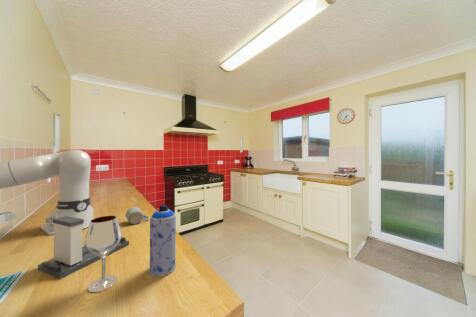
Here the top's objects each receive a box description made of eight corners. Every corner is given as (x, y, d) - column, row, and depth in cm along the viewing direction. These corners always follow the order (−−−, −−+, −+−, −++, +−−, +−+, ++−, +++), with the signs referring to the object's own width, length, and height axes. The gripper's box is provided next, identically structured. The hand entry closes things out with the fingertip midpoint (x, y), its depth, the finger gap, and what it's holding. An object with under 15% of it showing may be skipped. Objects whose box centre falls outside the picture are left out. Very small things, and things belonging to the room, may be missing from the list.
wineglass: (98, 274, 51) (99, 214, 51) (127, 273, 52) (127, 213, 52) (74, 296, 43) (75, 225, 43) (109, 294, 44) (109, 224, 44)
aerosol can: (150, 264, 56) (150, 203, 56) (175, 259, 59) (176, 201, 59) (147, 280, 49) (148, 210, 49) (176, 273, 52) (176, 207, 52)
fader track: (37, 269, 53) (37, 261, 53) (108, 239, 73) (108, 234, 73) (60, 279, 49) (60, 270, 49) (129, 244, 69) (129, 238, 69)
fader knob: (52, 259, 55) (52, 219, 55) (66, 254, 59) (66, 215, 59) (70, 266, 52) (70, 223, 52) (83, 260, 55) (83, 219, 55)
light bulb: (127, 226, 88) (128, 211, 88) (125, 222, 94) (125, 207, 94) (150, 221, 95) (150, 208, 95) (146, 218, 101) (146, 204, 101)
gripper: (-118, 245, 35) (-5, 222, 48) (-91, 267, 28) (33, 232, 41) (-118, 214, 35) (-5, 199, 48) (-91, 228, 28) (33, 206, 41)
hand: (12, 215), depth 45 cm, fingers closed
